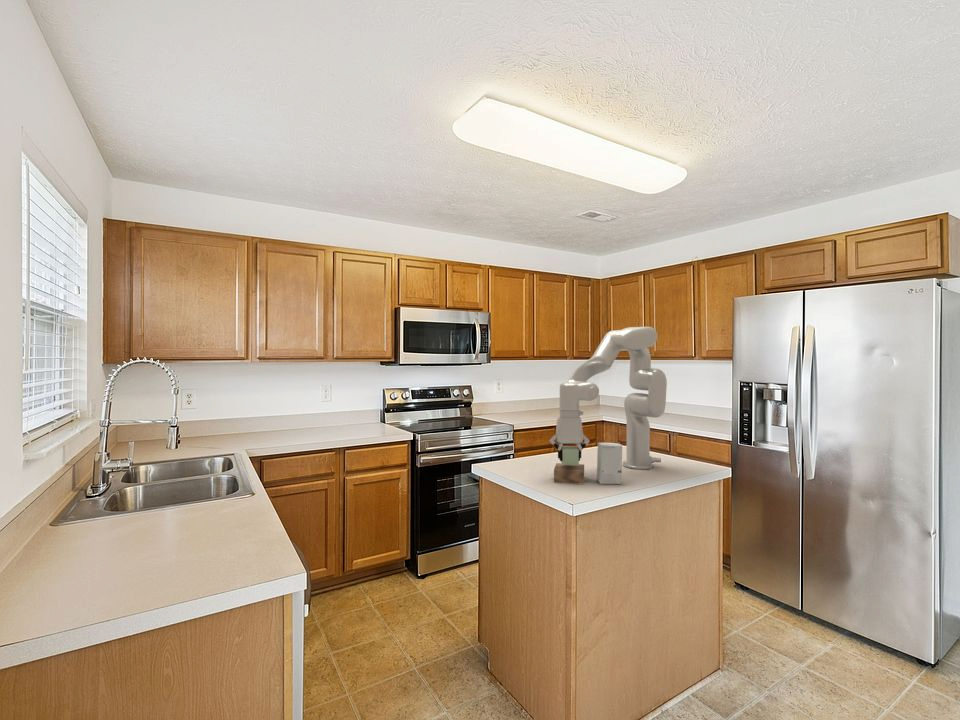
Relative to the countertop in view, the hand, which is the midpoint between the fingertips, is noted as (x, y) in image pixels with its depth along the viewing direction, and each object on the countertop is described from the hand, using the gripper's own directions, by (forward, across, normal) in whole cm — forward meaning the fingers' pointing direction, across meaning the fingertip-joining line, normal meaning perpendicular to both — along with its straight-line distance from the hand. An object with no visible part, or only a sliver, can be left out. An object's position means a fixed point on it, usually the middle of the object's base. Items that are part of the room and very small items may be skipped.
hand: (569, 459), depth 188 cm
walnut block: (+8, 0, 0) cm, 8 cm away
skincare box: (+8, -14, +5) cm, 17 cm away
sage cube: (+1, 0, 0) cm, 1 cm away
